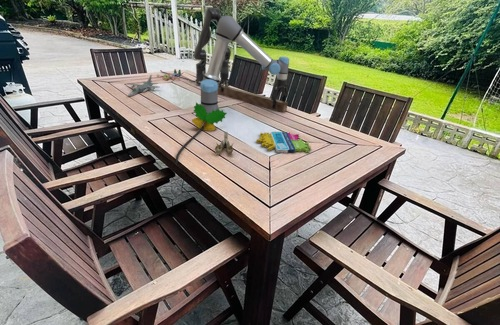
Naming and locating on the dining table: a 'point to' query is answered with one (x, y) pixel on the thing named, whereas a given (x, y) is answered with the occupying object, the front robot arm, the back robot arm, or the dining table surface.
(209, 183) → the dining table surface
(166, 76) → the toy
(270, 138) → the pack of gloves
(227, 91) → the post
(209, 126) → the ornament
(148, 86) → the airplane
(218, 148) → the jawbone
